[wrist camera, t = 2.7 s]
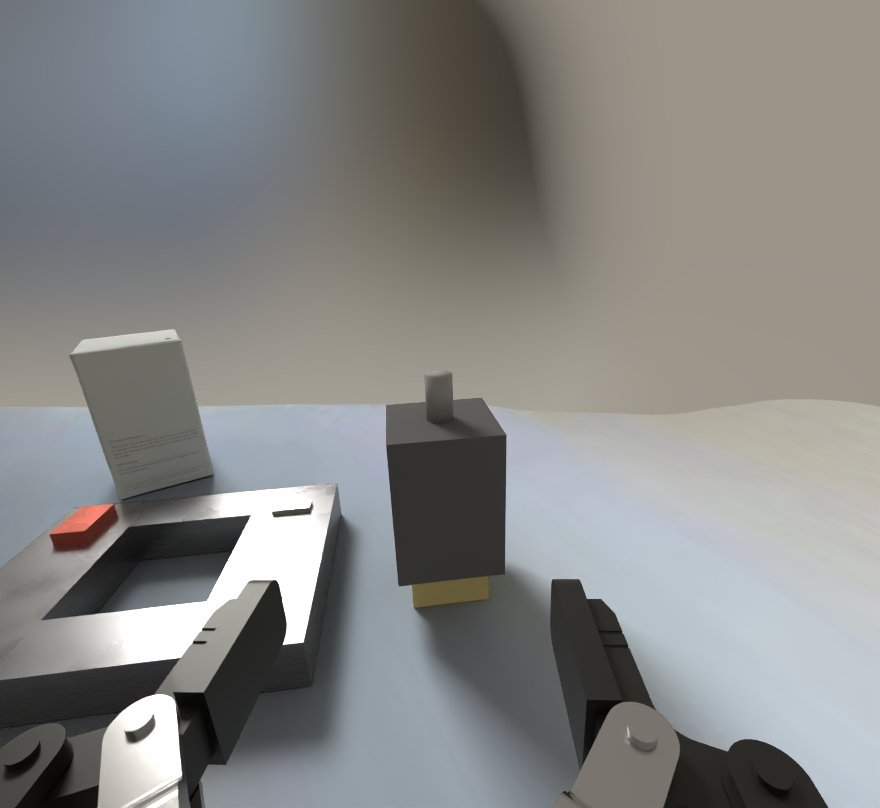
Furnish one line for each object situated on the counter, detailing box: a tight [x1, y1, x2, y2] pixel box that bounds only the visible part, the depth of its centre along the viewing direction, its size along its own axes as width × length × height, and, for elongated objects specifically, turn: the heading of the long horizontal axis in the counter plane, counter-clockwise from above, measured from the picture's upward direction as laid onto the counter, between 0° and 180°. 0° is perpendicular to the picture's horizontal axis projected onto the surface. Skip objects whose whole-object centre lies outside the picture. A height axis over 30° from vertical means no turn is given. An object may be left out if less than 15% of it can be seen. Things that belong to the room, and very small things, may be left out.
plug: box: [386, 371, 506, 608], centre depth 24 cm, size 6×6×13 cm
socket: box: [0, 483, 341, 728], centre depth 25 cm, size 18×14×3 cm
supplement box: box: [69, 329, 213, 499], centre depth 39 cm, size 7×7×13 cm
